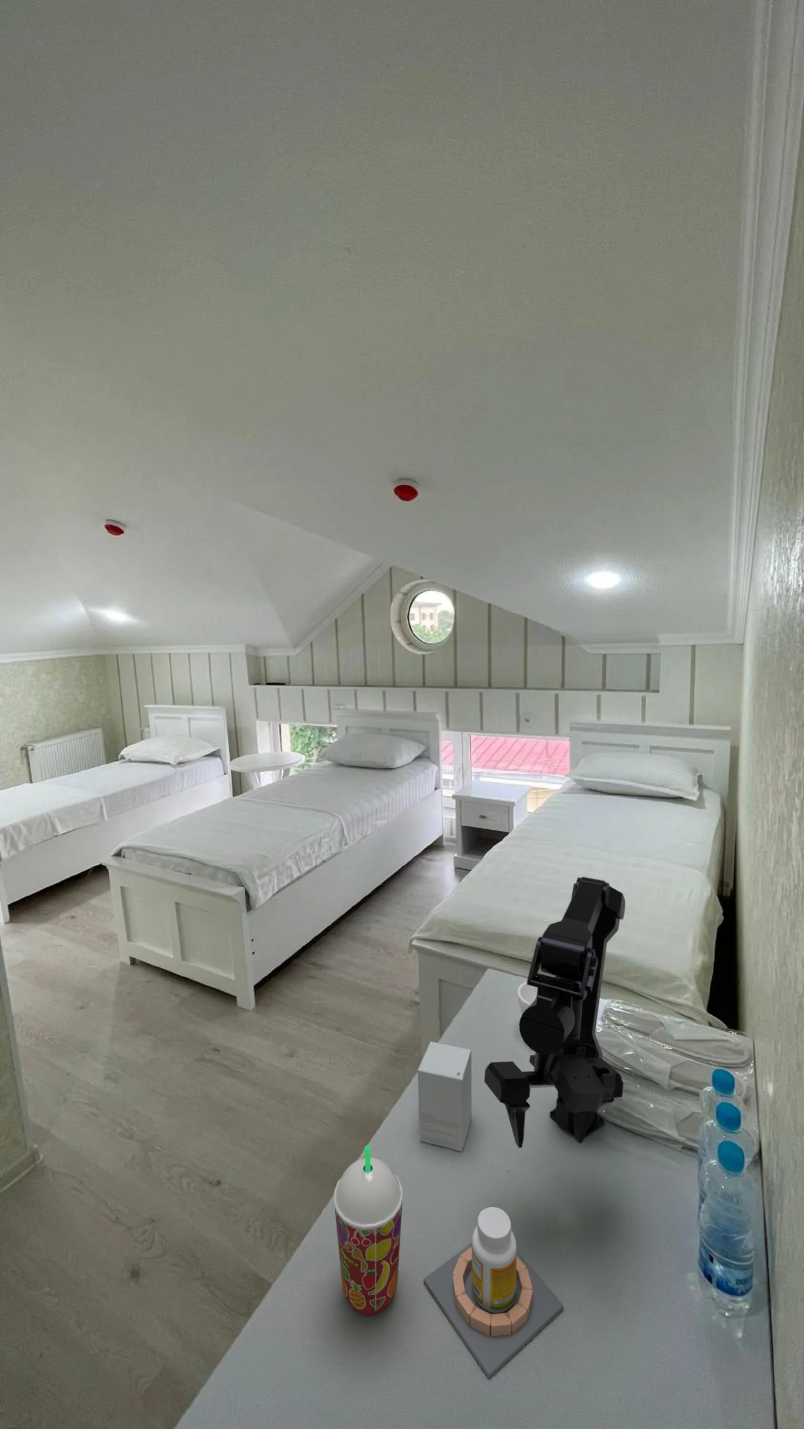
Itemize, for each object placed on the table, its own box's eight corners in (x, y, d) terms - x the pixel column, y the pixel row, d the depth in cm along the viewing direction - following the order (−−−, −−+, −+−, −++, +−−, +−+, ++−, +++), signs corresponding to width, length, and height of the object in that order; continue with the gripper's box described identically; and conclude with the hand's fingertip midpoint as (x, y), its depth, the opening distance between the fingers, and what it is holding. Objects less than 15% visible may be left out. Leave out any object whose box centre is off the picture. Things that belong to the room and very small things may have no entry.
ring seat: (494, 1229, 83) (494, 1216, 83) (563, 1309, 73) (563, 1295, 73) (423, 1283, 77) (423, 1269, 76) (488, 1378, 67) (489, 1363, 66)
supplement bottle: (521, 1280, 76) (522, 1212, 75) (508, 1324, 71) (509, 1252, 70) (480, 1260, 79) (481, 1194, 77) (465, 1301, 74) (465, 1231, 73)
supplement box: (472, 1118, 102) (473, 1049, 100) (462, 1154, 95) (462, 1080, 94) (430, 1107, 105) (430, 1039, 103) (417, 1141, 98) (416, 1069, 96)
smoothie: (328, 1273, 78) (323, 1133, 75) (388, 1246, 81) (386, 1111, 78) (348, 1342, 70) (344, 1190, 67) (414, 1310, 74) (413, 1163, 71)
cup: (510, 1022, 127) (510, 980, 125) (556, 1018, 128) (558, 977, 127) (525, 1055, 117) (526, 1011, 116) (575, 1051, 118) (576, 1007, 117)
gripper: (526, 1057, 75) (514, 1192, 74) (654, 1052, 80) (645, 1178, 79) (488, 1018, 85) (477, 1134, 84) (603, 1016, 91) (594, 1125, 89)
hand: (549, 1143), depth 84 cm, fingers open, 9 cm apart
